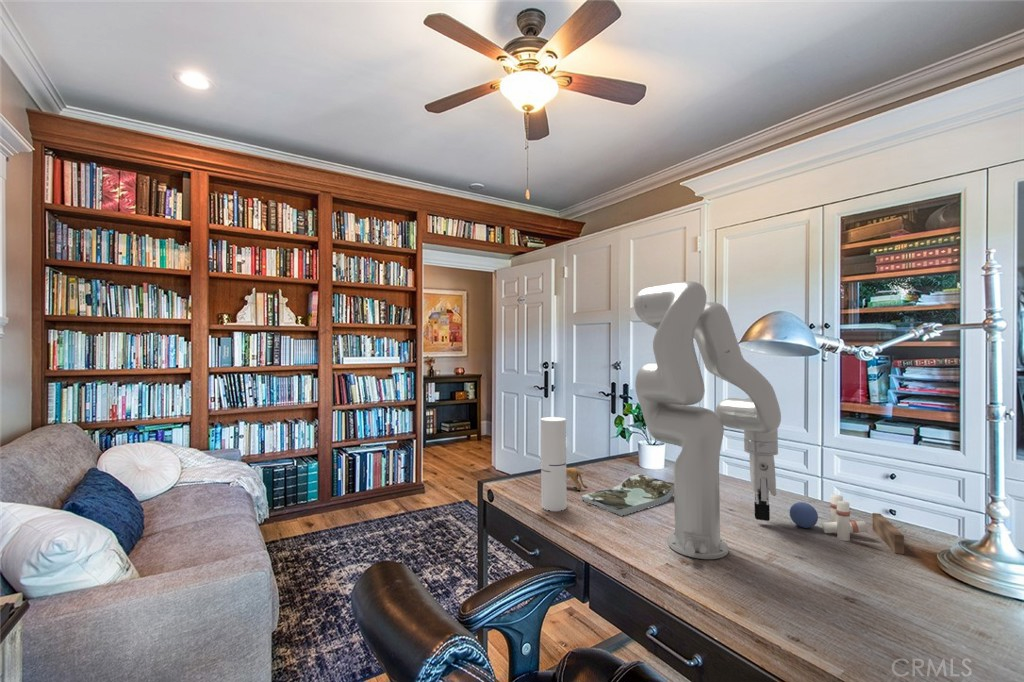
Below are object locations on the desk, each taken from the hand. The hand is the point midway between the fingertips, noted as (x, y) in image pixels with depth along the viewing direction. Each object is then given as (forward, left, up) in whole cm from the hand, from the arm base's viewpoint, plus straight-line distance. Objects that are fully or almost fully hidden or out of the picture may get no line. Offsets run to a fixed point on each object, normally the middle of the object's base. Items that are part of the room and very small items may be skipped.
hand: (762, 518), depth 114 cm
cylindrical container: (-7, +53, -2) cm, 53 cm away
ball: (+2, -9, +2) cm, 10 cm away
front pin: (0, -13, 0) cm, 13 cm away
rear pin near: (-3, -16, -2) cm, 17 cm away
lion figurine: (+11, +56, -2) cm, 57 cm away
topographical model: (+7, +34, -2) cm, 34 cm away
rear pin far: (+2, -16, -2) cm, 17 cm away
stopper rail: (0, -25, -2) cm, 26 cm away
